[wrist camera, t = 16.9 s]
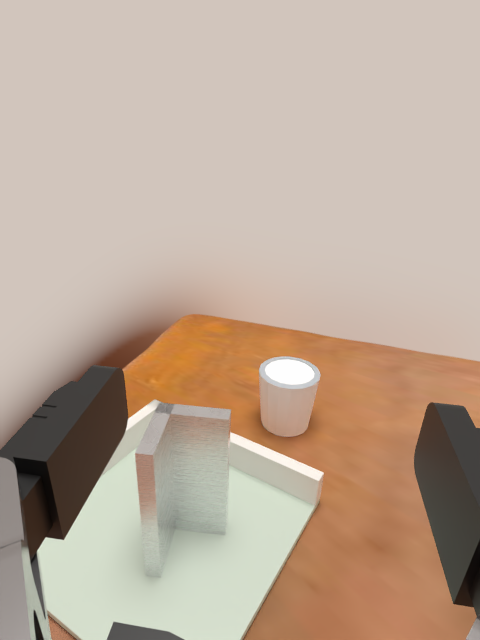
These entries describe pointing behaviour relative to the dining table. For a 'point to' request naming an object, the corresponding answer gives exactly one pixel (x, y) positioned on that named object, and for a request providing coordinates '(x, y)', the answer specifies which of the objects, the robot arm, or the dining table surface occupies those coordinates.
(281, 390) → the white cup
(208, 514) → the bracket
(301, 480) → the arena
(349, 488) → the dining table surface
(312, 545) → the dining table surface
